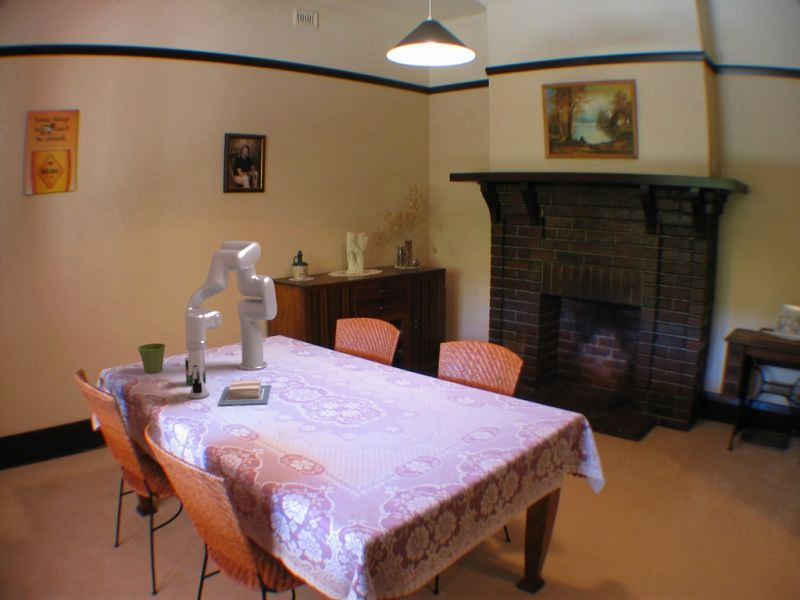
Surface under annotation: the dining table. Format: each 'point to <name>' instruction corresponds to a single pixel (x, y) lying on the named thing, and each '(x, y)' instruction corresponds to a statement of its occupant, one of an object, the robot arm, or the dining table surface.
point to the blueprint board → (262, 399)
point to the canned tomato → (190, 378)
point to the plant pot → (152, 356)
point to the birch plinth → (245, 389)
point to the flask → (199, 395)
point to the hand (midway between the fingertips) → (198, 390)
